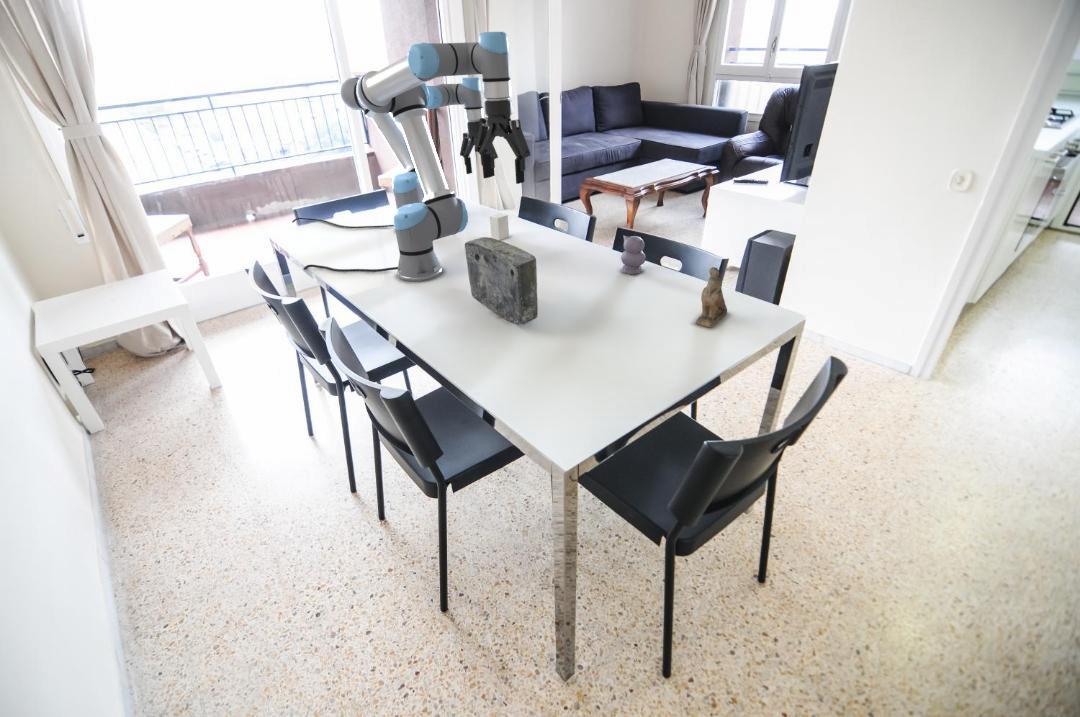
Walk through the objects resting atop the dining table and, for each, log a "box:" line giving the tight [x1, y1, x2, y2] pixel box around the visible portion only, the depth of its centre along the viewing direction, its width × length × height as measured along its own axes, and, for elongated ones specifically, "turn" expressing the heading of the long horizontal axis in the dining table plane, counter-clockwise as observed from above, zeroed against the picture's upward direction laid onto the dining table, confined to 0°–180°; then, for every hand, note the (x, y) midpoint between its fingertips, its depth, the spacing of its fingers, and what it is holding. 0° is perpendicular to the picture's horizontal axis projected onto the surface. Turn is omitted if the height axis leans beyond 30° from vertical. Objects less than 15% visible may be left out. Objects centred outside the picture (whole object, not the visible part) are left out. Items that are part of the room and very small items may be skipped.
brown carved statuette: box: [695, 266, 728, 328], centre depth 135 cm, size 12×6×18 cm, turn 136°
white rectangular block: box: [489, 213, 510, 241], centre depth 206 cm, size 5×6×9 cm
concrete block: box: [464, 236, 539, 326], centre depth 141 cm, size 27×9×20 cm, turn 36°
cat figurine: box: [620, 234, 646, 275], centre depth 168 cm, size 9×8×12 cm
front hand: (503, 180), depth 147 cm, fingers open, 13 cm apart
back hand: (480, 174), depth 214 cm, fingers open, 13 cm apart
